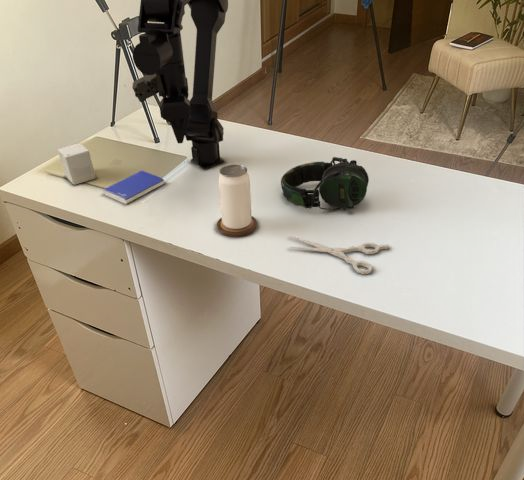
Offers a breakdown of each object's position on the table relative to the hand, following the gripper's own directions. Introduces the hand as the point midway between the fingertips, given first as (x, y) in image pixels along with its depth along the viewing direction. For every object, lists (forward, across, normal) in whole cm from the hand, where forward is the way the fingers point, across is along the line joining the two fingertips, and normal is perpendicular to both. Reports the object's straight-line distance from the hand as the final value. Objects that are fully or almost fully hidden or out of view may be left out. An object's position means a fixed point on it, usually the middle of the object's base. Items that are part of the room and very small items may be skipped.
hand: (179, 134), depth 121 cm
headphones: (+13, +12, +31) cm, 36 cm away
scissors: (+13, +34, +29) cm, 46 cm away
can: (+12, +20, +10) cm, 26 cm away
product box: (+13, -10, -27) cm, 31 cm away
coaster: (+13, +20, +10) cm, 26 cm away
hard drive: (+13, -1, -13) cm, 18 cm away
